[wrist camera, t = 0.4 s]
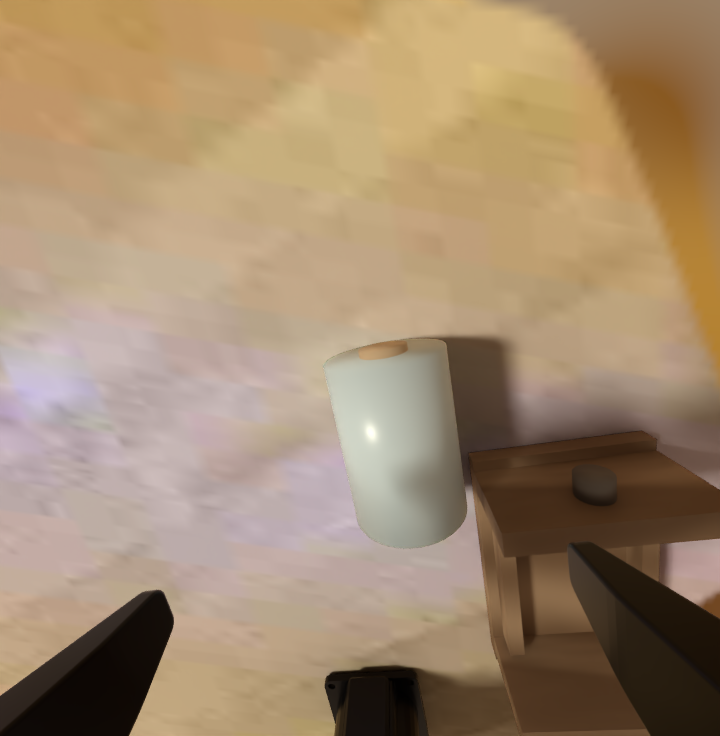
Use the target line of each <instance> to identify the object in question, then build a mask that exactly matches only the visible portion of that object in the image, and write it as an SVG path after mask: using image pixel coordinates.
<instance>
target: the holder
mask: <svg viewBox="0 0 720 736" xmlns="http://www.w3.org/2000/svg"><path fill="white" fill-rule="evenodd" d="M656 444H657V439H655V438H653V437H652V436H650V435H648V434H647V433H645V432H643V431H636V432H628V433H620V434H612V435H604V436H597V437H589V438H581V439H573V440H566V441H558V442H550V443H542V444H534V445H527V446H519V447H511V448H503V449H495V450H488V451H480V452H472V453H468V454H469V463H470V471H471V479H472V487H473V495H474V503H475V512H476V520H477V528H478V536H479V544H480V552H481V561H482V569H483V577H484V585H485V593H486V601H487V609H488V618H489V626H490V634H491V642H492V646H493V649H494V653H495V656H496V659H498V662H499V666H500V669H501V673H502V676H503V679H504V683H505V686H506V690H507V693H508V696H509V700H510V703H511V707H512V710H513V714H514V717H515V720H516V724H517V727H518V731H519V734H520V736H650V734H649V733H648V731H647V729H646V727H645V726H644V724H643V722H642V721H641V719H640V717H639V716H638V714H637V712H636V711H635V709H634V707H633V706H632V704H631V702H630V701H629V699H628V697H627V695H626V694H625V692H624V690H623V688H622V686H621V685H620V683H619V681H618V679H617V677H616V675H615V673H614V671H613V669H612V667H611V665H610V663H609V661H608V659H607V657H606V655H605V653H604V651H603V649H602V647H601V645H600V643H599V641H598V639H597V637H596V635H595V632H594V630H593V628H592V626H591V624H590V622H589V620H588V618H587V616H586V614H585V612H584V610H583V608H582V606H581V604H580V602H579V600H578V598H577V596H576V594H575V592H574V589H573V587H572V584H571V581H570V576H569V566H568V554H567V546H568V544H569V543H571V542H580V541H590V542H593V543H595V544H596V545H598V546H600V547H601V548H603V549H605V550H606V551H608V552H610V553H611V554H613V555H615V556H616V557H618V558H620V559H621V560H623V561H625V562H626V563H628V564H630V565H631V566H633V567H635V568H636V569H638V570H640V571H641V572H643V573H645V574H646V575H648V576H650V577H651V578H653V579H655V580H656V581H658V582H659V558H660V544H664V543H675V542H686V541H698V540H709V539H720V490H719V489H717V488H716V487H714V486H713V485H711V484H709V483H708V482H706V481H705V480H703V479H701V478H700V477H698V476H697V475H695V474H693V473H692V472H690V471H689V470H687V469H686V468H684V467H682V466H681V465H679V464H678V463H676V462H674V461H673V460H671V459H670V458H668V457H666V456H665V455H663V454H662V453H660V452H659V451H657V450H656Z"/></svg>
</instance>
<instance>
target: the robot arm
mask: <svg viewBox="0 0 720 736" xmlns="http://www.w3.org/2000/svg"><path fill="white" fill-rule="evenodd" d="M567 554H568V566H569V576H570V581H571V584H572V587H573V589H574V592H575V594H576V596H577V598H578V600H579V602H580V604H581V606H582V608H583V610H584V612H585V614H586V616H587V618H588V620H589V622H590V624H591V626H592V628H593V630H594V632H595V635H596V637H597V639H598V641H599V643H600V645H601V647H602V649H603V651H604V653H605V655H606V657H607V659H608V661H609V663H610V665H611V667H612V669H613V671H614V673H615V675H616V677H617V679H618V681H619V683H620V685H621V686H622V688H623V690H624V692H625V694H626V695H627V697H628V699H629V701H630V702H631V704H632V706H633V707H634V709H635V711H636V712H637V714H638V716H639V717H640V719H641V721H642V722H643V724H644V726H645V727H646V729H647V731H648V733H649V734H650V736H720V619H719V618H718V617H716V616H714V615H713V614H711V613H709V612H708V611H706V610H704V609H703V608H701V607H699V606H698V605H696V604H694V603H693V602H691V601H689V600H688V599H686V598H684V597H683V596H681V595H679V594H678V593H676V592H674V591H673V590H671V589H670V588H668V587H666V586H665V585H663V584H661V583H660V582H658V581H656V580H655V579H653V578H651V577H650V576H648V575H646V574H645V573H643V572H641V571H640V570H638V569H636V568H635V567H633V566H631V565H630V564H628V563H626V562H625V561H623V560H621V559H620V558H618V557H616V556H615V555H613V554H611V553H610V552H608V551H606V550H605V549H603V548H601V547H600V546H598V545H596V544H595V543H593V542H590V541H580V542H571V543H569V544H568V546H567ZM173 625H174V617H173V614H172V611H171V609H170V606H169V604H168V601H167V599H166V596H165V594H164V592H162V591H161V590H152V591H145V592H142V593H140V594H139V595H138V596H136V597H135V598H133V599H132V600H131V601H129V602H128V603H127V604H125V605H124V606H123V607H121V608H120V609H118V610H117V611H116V612H114V613H113V614H112V615H110V616H109V617H107V618H106V619H105V620H103V621H102V622H101V623H99V624H98V625H97V626H95V627H94V628H92V629H91V630H90V631H88V632H87V633H86V634H84V635H83V636H81V637H80V638H79V639H77V640H76V641H75V642H73V643H72V644H71V645H69V646H68V647H66V648H65V649H64V650H62V651H61V652H60V653H58V654H57V655H55V656H54V657H53V658H51V659H50V660H49V661H47V662H46V663H45V664H43V665H42V666H40V667H39V668H38V669H36V670H35V671H34V672H32V673H31V674H29V675H28V676H27V677H25V678H24V679H23V680H21V681H20V682H19V683H17V684H16V685H14V686H13V687H12V688H10V689H9V690H8V691H6V692H5V693H3V694H2V695H1V696H0V736H129V735H130V732H131V730H132V728H133V726H134V724H135V722H136V719H137V717H138V715H139V713H140V710H141V708H142V705H143V703H144V701H145V698H146V696H147V693H148V690H149V688H150V685H151V683H152V680H153V678H154V675H155V673H156V670H157V668H158V665H159V663H160V660H161V658H162V655H163V652H164V650H165V647H166V645H167V642H168V640H169V637H170V635H171V632H172V629H173ZM325 689H326V693H327V696H328V700H329V703H330V707H331V710H332V714H333V717H334V720H335V724H336V725H335V734H334V736H429V735H428V728H427V723H426V718H425V713H424V708H423V703H422V697H421V692H420V687H419V682H418V677H417V674H416V673H415V672H413V671H392V672H373V673H354V674H335V675H328V676H327V677H326V680H325Z"/></svg>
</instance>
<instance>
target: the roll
mask: <svg viewBox="0 0 720 736" xmlns="http://www.w3.org/2000/svg"><path fill="white" fill-rule="evenodd" d="M323 368H324V372H325V377H326V381H327V386H328V390H329V395H330V399H331V404H332V408H333V413H334V417H335V422H336V426H337V431H338V435H339V440H340V444H341V449H342V453H343V458H344V462H345V467H346V471H347V476H348V480H349V485H350V489H351V494H352V498H353V503H354V507H355V512H356V516H357V521H358V524H359V526H360V528H361V530H362V531H363V532H364V533H365V534H366V535H367V536H368V537H369V538H371V539H372V540H374V541H376V542H378V543H380V544H383V545H386V546H389V547H394V548H419V547H425V546H429V545H432V544H435V543H438V542H440V541H442V540H444V539H446V538H447V537H449V536H451V535H452V534H453V533H454V532H455V531H457V529H458V528H459V527H460V526H461V525H462V523H463V522H464V520H465V517H466V514H467V501H466V493H465V485H464V477H463V470H462V462H461V454H460V446H459V439H458V431H457V423H456V415H455V408H454V400H453V392H452V384H451V376H450V369H449V361H448V353H447V345H446V343H445V342H444V341H442V340H438V339H429V338H416V339H403V340H395V341H387V342H381V343H376V344H372V345H367V346H363V347H359V348H356V349H352V350H349V351H346V352H343V353H341V354H338V355H336V356H334V357H332V358H330V359H328V360H327V361H326V362H325V363H324V364H323Z"/></svg>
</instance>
